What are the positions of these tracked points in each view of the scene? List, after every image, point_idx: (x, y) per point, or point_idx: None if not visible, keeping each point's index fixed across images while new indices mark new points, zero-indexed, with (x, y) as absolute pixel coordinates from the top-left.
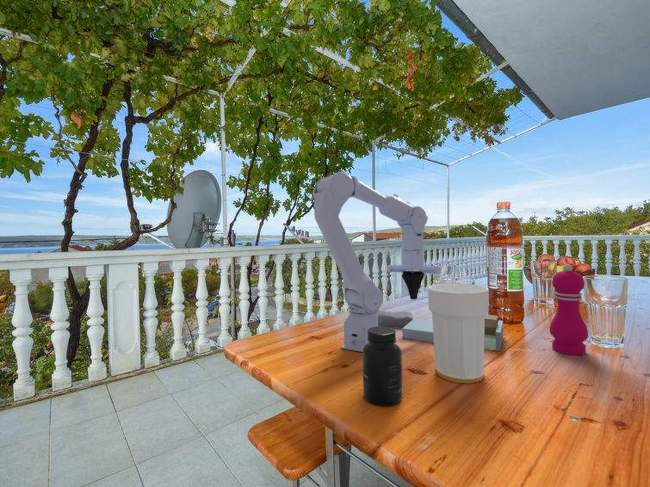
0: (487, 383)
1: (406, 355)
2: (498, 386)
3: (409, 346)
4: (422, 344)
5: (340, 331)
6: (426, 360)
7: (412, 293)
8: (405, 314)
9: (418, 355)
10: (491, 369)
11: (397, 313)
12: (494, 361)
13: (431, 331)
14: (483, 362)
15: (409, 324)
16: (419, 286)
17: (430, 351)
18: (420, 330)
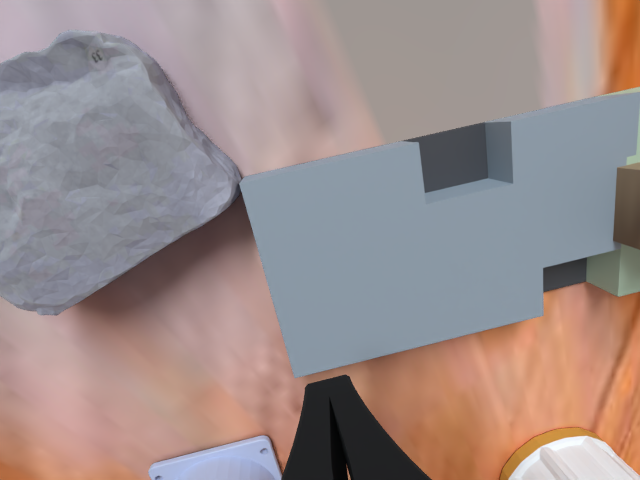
0: None
1: None
2: None
3: None
4: (394, 365)
5: (20, 451)
6: (458, 461)
7: (346, 476)
8: (160, 173)
9: (424, 448)
10: (621, 406)
11: (91, 174)
12: (628, 353)
13: (425, 336)
14: (636, 474)
15: (286, 305)
16: (401, 456)
17: (443, 402)
18: (378, 353)
